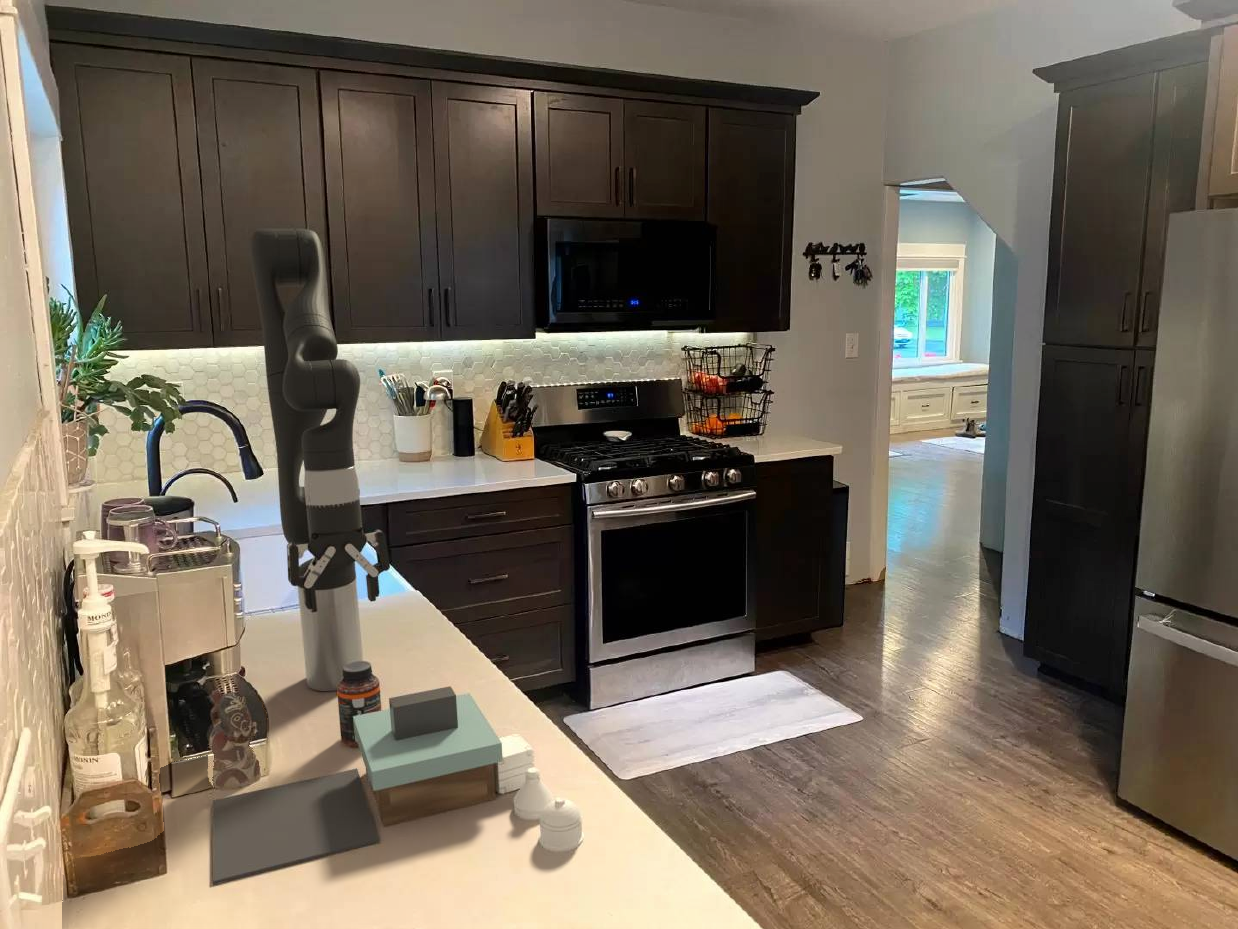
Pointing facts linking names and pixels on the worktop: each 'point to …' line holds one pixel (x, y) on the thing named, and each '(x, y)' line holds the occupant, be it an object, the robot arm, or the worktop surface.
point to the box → (435, 795)
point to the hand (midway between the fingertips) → (343, 605)
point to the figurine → (232, 742)
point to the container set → (537, 797)
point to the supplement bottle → (356, 697)
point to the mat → (290, 824)
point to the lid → (425, 738)
